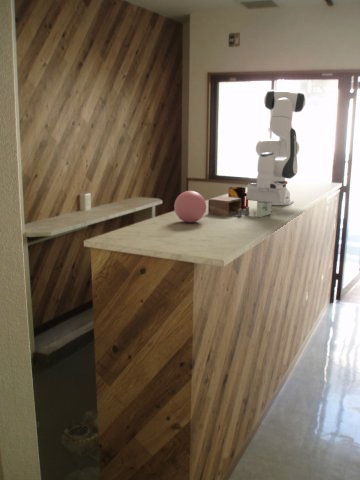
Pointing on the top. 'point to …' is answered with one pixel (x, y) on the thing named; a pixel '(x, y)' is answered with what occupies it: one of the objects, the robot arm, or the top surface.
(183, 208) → the balloon
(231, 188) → the mug
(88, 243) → the top surface
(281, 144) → the robot arm
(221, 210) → the cabinet
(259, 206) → the door
